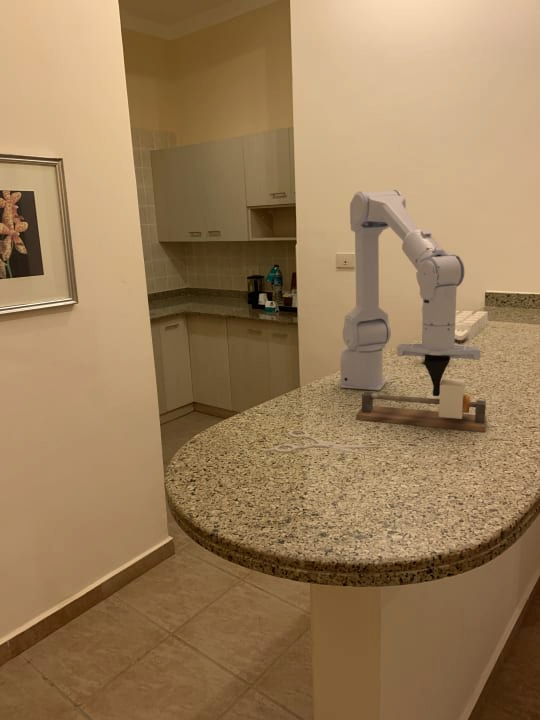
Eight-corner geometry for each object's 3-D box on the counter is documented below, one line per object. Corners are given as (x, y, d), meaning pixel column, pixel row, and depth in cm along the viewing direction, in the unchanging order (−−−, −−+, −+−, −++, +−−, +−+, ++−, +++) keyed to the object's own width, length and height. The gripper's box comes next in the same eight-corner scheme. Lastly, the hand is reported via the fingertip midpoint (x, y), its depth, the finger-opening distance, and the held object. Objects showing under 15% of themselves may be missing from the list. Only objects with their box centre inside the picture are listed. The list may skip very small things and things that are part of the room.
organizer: (488, 311, 190) (465, 330, 161) (487, 325, 191) (465, 346, 163) (449, 310, 197) (421, 328, 168) (449, 323, 198) (421, 343, 169)
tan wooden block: (439, 416, 100) (439, 384, 98) (441, 409, 104) (442, 378, 102) (461, 418, 98) (463, 386, 97) (463, 411, 102) (465, 379, 101)
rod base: (356, 419, 106) (355, 392, 105) (363, 409, 111) (363, 383, 110) (484, 432, 96) (486, 402, 95) (486, 420, 102) (487, 392, 100)
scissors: (284, 428, 103) (390, 438, 95) (285, 432, 103) (390, 442, 95) (262, 450, 93) (377, 463, 85) (262, 454, 93) (377, 468, 86)
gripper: (394, 326, 97) (393, 397, 101) (480, 328, 92) (476, 404, 95) (401, 319, 104) (400, 386, 107) (482, 321, 98) (479, 392, 101)
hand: (436, 394), depth 101 cm, fingers closed
